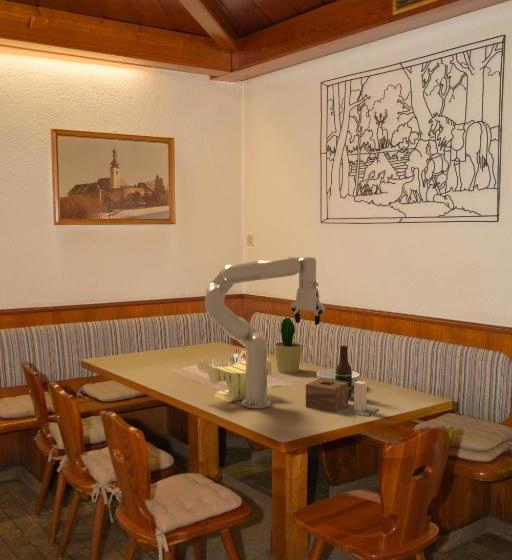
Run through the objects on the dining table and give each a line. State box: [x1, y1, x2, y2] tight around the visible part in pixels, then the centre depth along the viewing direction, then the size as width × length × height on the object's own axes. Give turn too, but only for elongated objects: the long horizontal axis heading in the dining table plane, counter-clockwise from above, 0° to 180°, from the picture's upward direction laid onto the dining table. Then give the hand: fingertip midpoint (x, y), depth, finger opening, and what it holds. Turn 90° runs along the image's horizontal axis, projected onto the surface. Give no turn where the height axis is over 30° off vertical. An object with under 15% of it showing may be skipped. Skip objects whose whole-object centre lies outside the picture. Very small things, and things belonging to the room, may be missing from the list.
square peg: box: [353, 380, 368, 412], centre depth 283 cm, size 4×4×12 cm
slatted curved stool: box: [197, 357, 272, 403], centre depth 304 cm, size 30×16×18 cm, turn 122°
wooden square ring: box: [305, 378, 349, 412], centre depth 291 cm, size 14×14×10 cm
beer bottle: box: [335, 344, 353, 399], centre depth 305 cm, size 8×8×24 cm
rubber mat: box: [341, 403, 380, 417], centre depth 283 cm, size 12×12×1 cm
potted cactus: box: [273, 317, 303, 374], centre depth 357 cm, size 15×15×30 cm
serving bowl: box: [316, 368, 360, 387], centre depth 324 cm, size 21×21×7 cm
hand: (307, 323), depth 292 cm, fingers open, 9 cm apart
